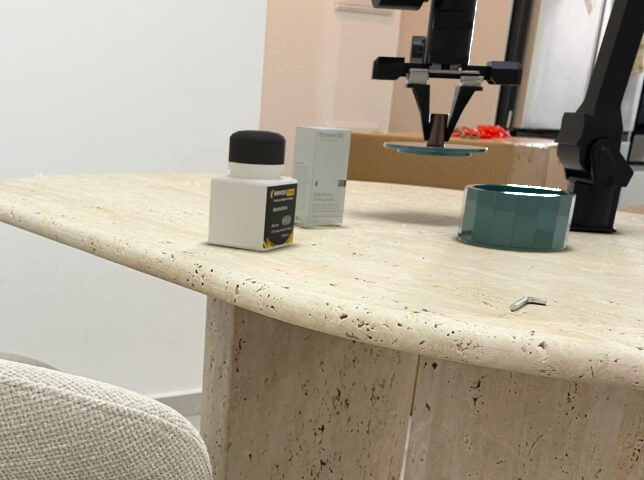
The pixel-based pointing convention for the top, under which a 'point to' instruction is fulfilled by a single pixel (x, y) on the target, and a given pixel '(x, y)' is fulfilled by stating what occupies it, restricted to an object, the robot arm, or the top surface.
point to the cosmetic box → (320, 175)
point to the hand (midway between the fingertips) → (436, 141)
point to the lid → (436, 142)
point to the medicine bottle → (253, 195)
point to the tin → (516, 217)
